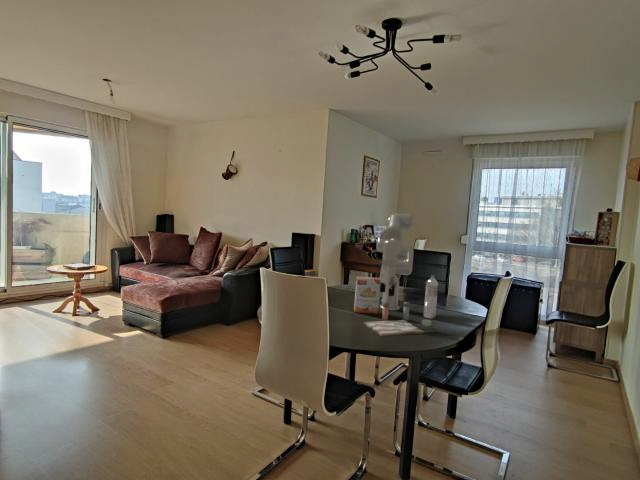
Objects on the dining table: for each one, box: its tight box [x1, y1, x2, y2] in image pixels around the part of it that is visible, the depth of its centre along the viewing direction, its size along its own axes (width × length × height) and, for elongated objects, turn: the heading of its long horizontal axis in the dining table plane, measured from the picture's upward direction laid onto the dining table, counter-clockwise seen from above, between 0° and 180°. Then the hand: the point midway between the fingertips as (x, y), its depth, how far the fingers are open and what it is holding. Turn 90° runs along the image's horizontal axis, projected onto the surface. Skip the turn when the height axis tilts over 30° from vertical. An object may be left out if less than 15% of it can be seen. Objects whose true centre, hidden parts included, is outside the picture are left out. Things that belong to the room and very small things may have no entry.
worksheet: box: [363, 319, 425, 337], centre depth 193 cm, size 19×25×1 cm
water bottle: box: [423, 274, 439, 320], centre depth 218 cm, size 7×7×25 cm
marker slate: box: [402, 301, 411, 322], centre depth 210 cm, size 3×3×10 cm
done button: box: [421, 318, 432, 327], centre depth 194 cm, size 5×5×4 cm
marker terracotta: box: [381, 302, 390, 321], centre depth 206 cm, size 3×3×10 cm
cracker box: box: [353, 276, 381, 315], centre depth 221 cm, size 14×6×21 cm, turn 92°
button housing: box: [416, 322, 437, 334], centre depth 194 cm, size 7×7×2 cm
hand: (386, 293), depth 205 cm, fingers open, 9 cm apart
